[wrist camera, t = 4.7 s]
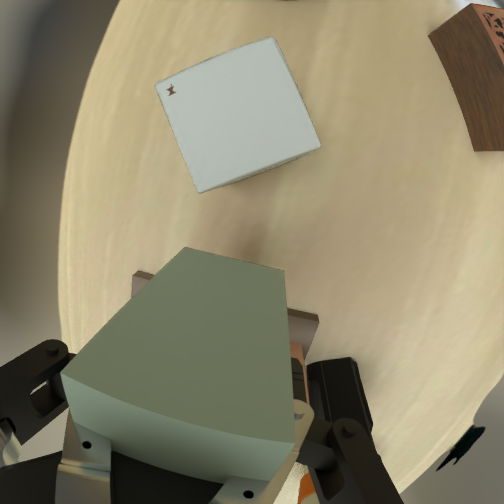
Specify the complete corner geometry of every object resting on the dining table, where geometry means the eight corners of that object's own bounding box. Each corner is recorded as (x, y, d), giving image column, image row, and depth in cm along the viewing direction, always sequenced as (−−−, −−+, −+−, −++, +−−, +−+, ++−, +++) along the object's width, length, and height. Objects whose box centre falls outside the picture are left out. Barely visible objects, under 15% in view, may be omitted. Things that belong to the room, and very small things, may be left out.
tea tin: (170, 356, 16) (103, 493, 7) (185, 246, 14) (60, 372, 5) (255, 377, 16) (237, 531, 7) (287, 271, 14) (305, 444, 5)
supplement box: (228, 186, 27) (193, 198, 15) (201, 117, 26) (149, 81, 13) (301, 159, 26) (325, 149, 14) (273, 89, 24) (272, 31, 12)
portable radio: (352, 400, 33) (390, 568, 9) (307, 406, 34) (320, 582, 10) (356, 355, 31) (418, 550, 7) (306, 362, 32) (327, 573, 8)
